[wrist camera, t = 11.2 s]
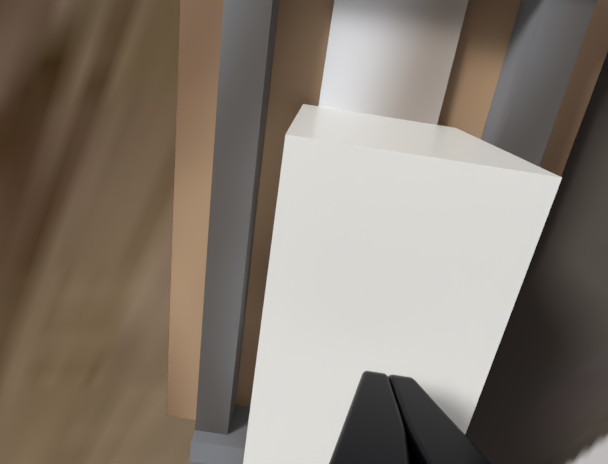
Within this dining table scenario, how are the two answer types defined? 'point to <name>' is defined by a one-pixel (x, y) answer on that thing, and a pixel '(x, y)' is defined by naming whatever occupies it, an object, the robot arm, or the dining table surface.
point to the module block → (386, 271)
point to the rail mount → (344, 96)
